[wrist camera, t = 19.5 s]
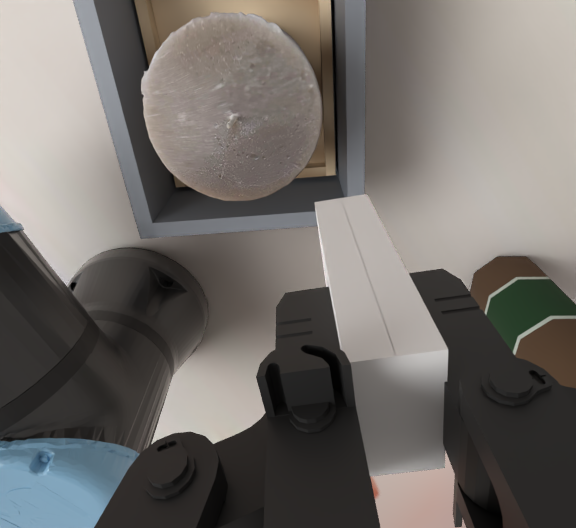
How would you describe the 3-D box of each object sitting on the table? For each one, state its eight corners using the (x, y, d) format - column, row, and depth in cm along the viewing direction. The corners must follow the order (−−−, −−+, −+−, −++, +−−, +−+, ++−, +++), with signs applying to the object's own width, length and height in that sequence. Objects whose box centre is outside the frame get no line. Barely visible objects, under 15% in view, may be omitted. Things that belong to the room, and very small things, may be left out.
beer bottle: (535, 241, 43) (761, 445, 22) (544, 299, 47) (747, 522, 26) (459, 267, 45) (604, 480, 24) (473, 321, 48) (611, 548, 27)
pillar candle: (296, 158, 37) (300, 228, 24) (185, 131, 36) (126, 189, 23) (326, 36, 32) (352, 41, 19) (201, 1, 31) (138, -19, 18)
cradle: (348, 179, 40) (364, 222, 31) (172, 193, 41) (140, 238, 32) (345, -55, 31) (366, -86, 22) (121, -32, 32) (57, -53, 23)
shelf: (343, 164, 39) (349, 179, 35) (173, 177, 40) (160, 193, 36) (339, -82, 30) (345, -98, 26) (120, -59, 31) (95, -71, 27)
